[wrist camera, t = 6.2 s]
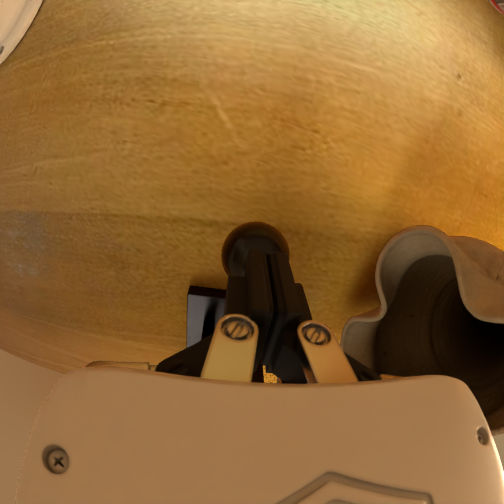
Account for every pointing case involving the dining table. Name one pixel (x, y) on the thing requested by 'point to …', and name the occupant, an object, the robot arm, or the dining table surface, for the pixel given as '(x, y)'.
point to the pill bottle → (498, 5)
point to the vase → (437, 315)
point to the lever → (250, 245)
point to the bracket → (208, 318)
